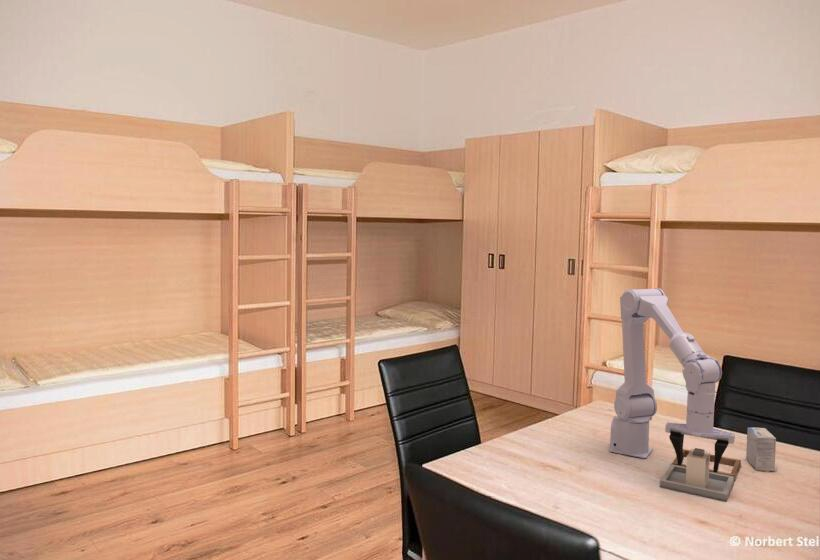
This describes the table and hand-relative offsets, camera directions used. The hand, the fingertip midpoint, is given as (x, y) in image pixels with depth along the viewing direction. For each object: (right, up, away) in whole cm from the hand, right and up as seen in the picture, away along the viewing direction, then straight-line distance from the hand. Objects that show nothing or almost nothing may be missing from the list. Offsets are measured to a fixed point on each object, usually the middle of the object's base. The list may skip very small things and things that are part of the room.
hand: (697, 467), depth 149 cm
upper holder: (+7, -3, +11) cm, 14 cm away
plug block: (0, -4, +1) cm, 4 cm away
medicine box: (+21, -4, +13) cm, 25 cm away
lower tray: (0, -4, 0) cm, 4 cm away
